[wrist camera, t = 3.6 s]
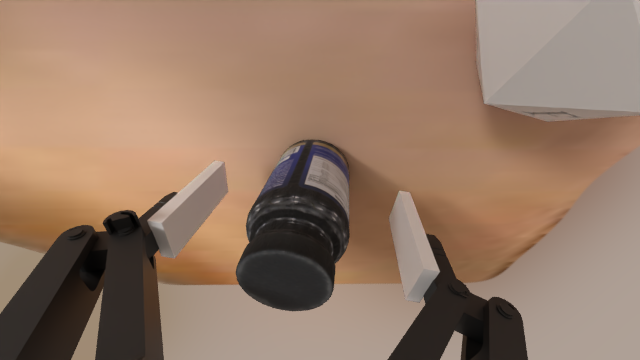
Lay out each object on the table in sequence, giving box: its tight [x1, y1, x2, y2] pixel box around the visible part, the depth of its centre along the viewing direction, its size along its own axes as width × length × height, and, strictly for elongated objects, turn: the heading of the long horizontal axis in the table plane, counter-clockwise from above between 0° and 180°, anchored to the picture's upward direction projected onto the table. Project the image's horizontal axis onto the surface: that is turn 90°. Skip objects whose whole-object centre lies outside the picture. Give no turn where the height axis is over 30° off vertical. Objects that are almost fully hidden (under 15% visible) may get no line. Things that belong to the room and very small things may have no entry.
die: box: [475, 0, 640, 122], centre depth 10 cm, size 8×9×10 cm
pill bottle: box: [236, 140, 350, 311], centre depth 15 cm, size 6×6×11 cm
